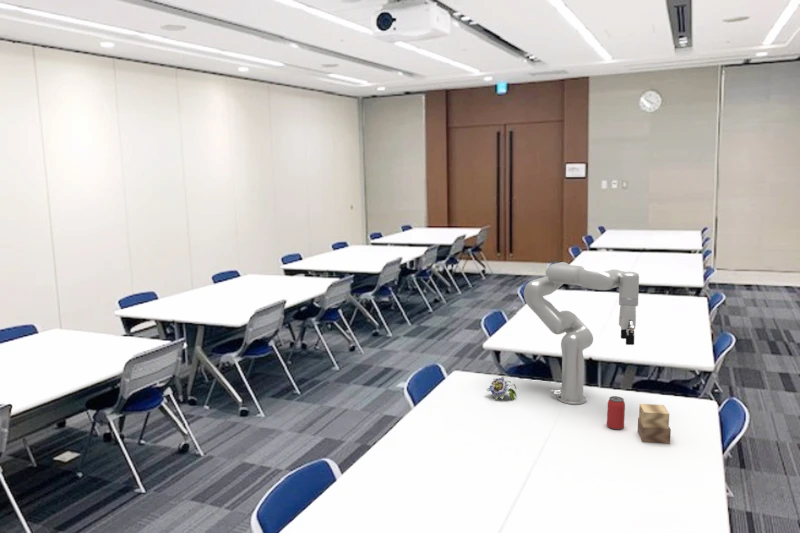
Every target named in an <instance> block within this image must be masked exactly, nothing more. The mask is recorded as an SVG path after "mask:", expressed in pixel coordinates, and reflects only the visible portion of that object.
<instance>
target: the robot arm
mask: <svg viewBox="0 0 800 533" xmlns="http://www.w3.org/2000/svg"><path fill="white" fill-rule="evenodd" d="M564 284H565V285H571V286H572V285H574V286H580V287H582V288H585V289H592V290H599V291H608V290H611V289H614V288H619V289H618V291H619V292H618V293H619V295H618V305H619V316H618V325H619V326H620V328H621V329H620V339H622V340H625V345H627V346H630V345H631V346H634V345H635V329H636V324H637V322H636V321H637V319H636V318H637V310H636V307H638V306H639V293H640V292H639V291H640V290H639V287H640V286H639V285H640V276H639V273H637V272H635V271H622V270H619V269H610V270H606V271H603V272H602V271H601V272H600V271H593V270H586V269H585V267H583V266H582V265H572V264H569V263H568V262H565V261H560V262H556V263H553V264H550V265H549V266H548V267H547V268H546V270H545V275H544V276H543V277H540V278H535V279H534V280H531V281H528V283H527V284H526V285H525V287H524V290H523V298H524V301H525V303H526V305H527V306H528V307H529V309H530V310H531V311H532V312H533V313H534V314H535V315H536V316H537V317H538V319H540V321H541V322H543V324H544V325H545V326H546V327H547V328H548V329H549V331H551V333H553V334H554V335H562V334H564V336H563V337H562V338H561V341H560V349H561V358H562V359H561V360H562V361H561V362H562V363H561V387H560V388H558V389H554V388H553V389H550V394H553V395H554V396H557V400H559V402H561V403H563V404H566V405H567V404H569V405H583V404H586V402H587V397H586V396H585V395H584V382H585V381H584V380H585V376H584V375H585V358H584V354H583V353H584V352H583V351H584V350H586V349H588V348H590V347H591V346H592V344H593V343H594V336H593V333H592V332H591V330H590V329H589V328H588V327H587V326H586V325H585V324H584V322H582V321H581V320H580V318H579V317H578V316H577V315H576V314H574V313H573V312H571V311H570V310H561V311H559V310H558V308H556V307H555V306H554V305H553V303H552V302H550V301H549V300H547V299H546V298H545V297H546V296H548V295H551V294H553V293H554V292H556V291H557V290H559V289H560V287H562V286H563V285H564ZM565 333H566V334H565Z"/></svg>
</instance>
